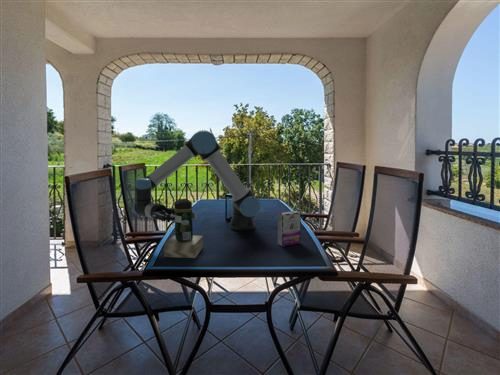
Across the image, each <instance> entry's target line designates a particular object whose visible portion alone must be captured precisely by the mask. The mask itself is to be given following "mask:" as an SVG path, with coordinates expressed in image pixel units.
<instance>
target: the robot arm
mask: <svg viewBox="0 0 500 375" xmlns="http://www.w3.org/2000/svg"><path fill="white" fill-rule="evenodd" d="M221 151H222V148H221V146H220V145H219V143H218V142H217V139H216V136H215V135H214V134H213V133H212V132H210V131H208V130H205V129H202V130H198V131H197V132H195V133H193V135H192V136H191V138H189V140H187V141H186V142H185V143H184V144H183V147H182V148H181V149H179V150H178V151H176V152H175V153H174V154H173V155H172V156H170V157H169V158H168V159H167V160H165V161H164V162H163V163H162V164H160V165H159V166H158V167H156V169H154V170H153V171H152V172H150V173H149V174H148V175H147V176H145V177H143V178H142V177H141V178H136V179H135V180H134V181H135V184H134V187H135V198H136V199H135V202H133V204H132V206H131V209H132V212H133V213H134V214H135V215H137V216H140V217H145V218H150V219H152V220H154V219H155V220H159V221H162V222H167V223H170V222H174V223H175V222H179V223H181V216H176V215H175V214H174V207H173V208H167V206H166V205H164V204H161V203H156V202H153V200H152V191H153V190H154V189H155V188H157V187H158V186H159V185H160V184H161V183H163V182H164V181H165V180H167V179H168V178H169V177H170V176H171V175H173V174H174V173H175V172H176V171H178V170H179V169H180V168H181V167H183V166H184V165H185V164H186V163H188V162H189V161H190V160H191V159H193V158H195V159H196V158H197V157H198V156H199V157H200V158H201V160H202V161H203V162H204V161H205V162H207V163H208V164H209V166H210V167H211V170H213V171H214V173H215V174H216V176H217V177H218V178H219V179H220V181H221V183H222V184H223V185H224V187H225V188H226V189H227V191H228V192H229V194H230V195H231V196H232V198H231V201H232V216H231V220H230V223H229V228H230V229H231V230H234V231H244V232H245V231H252V230H254V229H255V228H256V223H255V220H254V217H255V216H256V215H258V214H259V212H260V210H261V207H262V206H261V205H262V204H261V202H260V199H259V198H258V197H256V196H255V194H254V193H253V191H252V189H250V188H249V187H245V185H244V184H243V183H242V181H241V179H240V178H239V177H238V175H237V173H236V172H235V171H234V170H233V168H232V167H231V165H230V164H229V162H228V161H227V159H226V158H225V157H224V155H223V154H222V152H221ZM192 219H195V220H197V212H196V211H195V212H193V211H192Z"/></svg>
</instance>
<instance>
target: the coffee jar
mask: <svg viewBox="0 0 500 375" xmlns="http://www.w3.org/2000/svg"><path fill="white" fill-rule="evenodd" d="M173 208H174V214H175V215H176V216H181V223H179V222H175V221H174V232H175V234H174V235H175V236H176V240H177V241H188V240H192V239H193V235H194V230H193V218H192V212H193V203H192V201H191V200H189V199H187V198H178V199H177V200H175V201H174V207H173Z"/></svg>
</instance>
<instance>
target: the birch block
mask: <svg viewBox="0 0 500 375" xmlns="http://www.w3.org/2000/svg"><path fill="white" fill-rule="evenodd" d="M203 240H204V236H203V235H194V234H193V239H192V240H188V241H177V240H176V236H175V234H174V235H172V237H170V238H169V239H168V240H167V241H166V242H164V244H163V246H164V248H163V251H164V258H183V259H185V258H187V259H190V258H191V259H196V258H197V257H198V255H199V253H200V252H201V251H202V250H203V248H204V244H203V243H204V241H203Z"/></svg>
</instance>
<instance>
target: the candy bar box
mask: <svg viewBox="0 0 500 375" xmlns="http://www.w3.org/2000/svg"><path fill="white" fill-rule="evenodd" d="M301 214H302V212H300V211H297V210H293V211H292V210H291V211H285V212H278V213H277V245H279V246H281V247H283V248H284V247H288V246H289V247H290V246H294V245H295V246H296V245H300V244H301V232H302V231H301V230H302V228H301V225H302V224H301V223H302V221H301V216H302V215H301Z"/></svg>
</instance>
